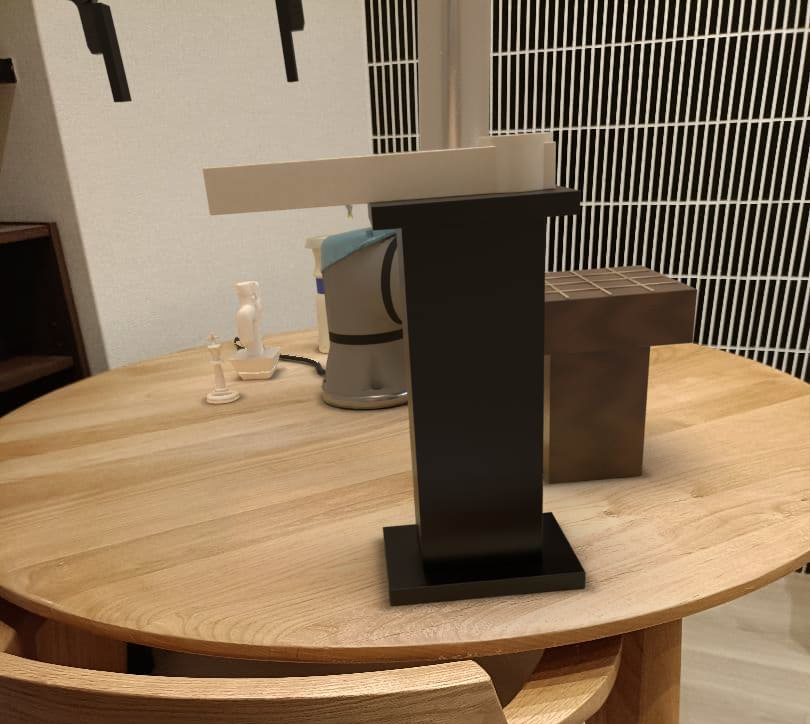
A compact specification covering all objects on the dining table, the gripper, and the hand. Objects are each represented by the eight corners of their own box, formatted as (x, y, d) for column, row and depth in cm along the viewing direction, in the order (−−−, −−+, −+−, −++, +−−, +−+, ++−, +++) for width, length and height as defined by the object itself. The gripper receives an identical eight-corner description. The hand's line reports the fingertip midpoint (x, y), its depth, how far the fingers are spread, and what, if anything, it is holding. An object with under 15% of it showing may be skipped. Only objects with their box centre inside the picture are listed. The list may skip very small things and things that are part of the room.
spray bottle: (342, 340, 154) (327, 197, 143) (372, 346, 149) (360, 197, 138) (307, 350, 149) (290, 202, 138) (338, 355, 144) (322, 202, 133)
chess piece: (209, 395, 126) (197, 330, 122) (241, 392, 126) (230, 327, 122) (204, 404, 122) (192, 337, 117) (238, 402, 122) (227, 334, 118)
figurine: (230, 384, 131) (214, 288, 125) (244, 368, 140) (230, 278, 133) (274, 382, 131) (260, 285, 124) (286, 367, 139) (274, 275, 132)
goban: (526, 497, 84) (526, 301, 75) (499, 445, 98) (497, 275, 89) (680, 484, 84) (698, 287, 76) (631, 433, 99) (641, 264, 90)
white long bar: (208, 216, 56) (199, 158, 54) (219, 210, 60) (210, 156, 59) (558, 189, 56) (559, 131, 55) (542, 185, 61) (542, 131, 59)
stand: (390, 606, 66) (355, 209, 53) (383, 540, 77) (353, 197, 64) (585, 588, 67) (600, 190, 53) (551, 525, 78) (556, 181, 64)
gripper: (-71, -268, 52) (36, 110, 62) (322, -314, 52) (364, 71, 62) (-23, -226, 58) (66, 109, 68) (325, -267, 58) (363, 74, 68)
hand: (208, 92), depth 65 cm, fingers open, 13 cm apart
